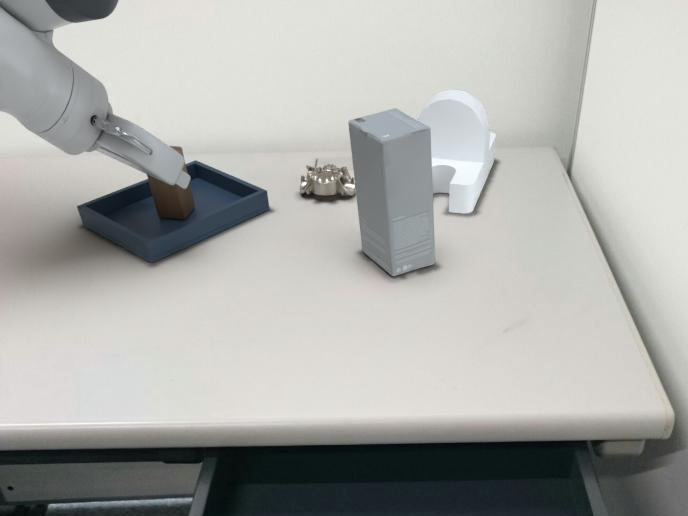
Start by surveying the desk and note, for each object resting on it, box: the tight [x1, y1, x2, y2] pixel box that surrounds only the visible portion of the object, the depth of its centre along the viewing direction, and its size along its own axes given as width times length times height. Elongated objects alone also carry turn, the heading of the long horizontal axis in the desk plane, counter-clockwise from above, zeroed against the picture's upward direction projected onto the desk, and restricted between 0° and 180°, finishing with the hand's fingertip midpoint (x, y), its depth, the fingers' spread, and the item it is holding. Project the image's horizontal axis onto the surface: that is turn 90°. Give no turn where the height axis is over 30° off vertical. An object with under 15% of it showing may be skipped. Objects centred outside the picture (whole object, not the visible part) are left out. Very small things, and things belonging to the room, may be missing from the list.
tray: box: [76, 159, 271, 264], centre depth 98 cm, size 16×20×3 cm
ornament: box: [298, 163, 356, 197], centre depth 102 cm, size 8×7×4 cm
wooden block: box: [146, 145, 195, 220], centre depth 95 cm, size 4×4×8 cm
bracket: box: [416, 89, 497, 215], centre depth 102 cm, size 19×10×11 cm, turn 166°
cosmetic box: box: [348, 107, 436, 277], centre depth 85 cm, size 8×7×16 cm
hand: (163, 171), depth 94 cm, fingers open, 8 cm apart
